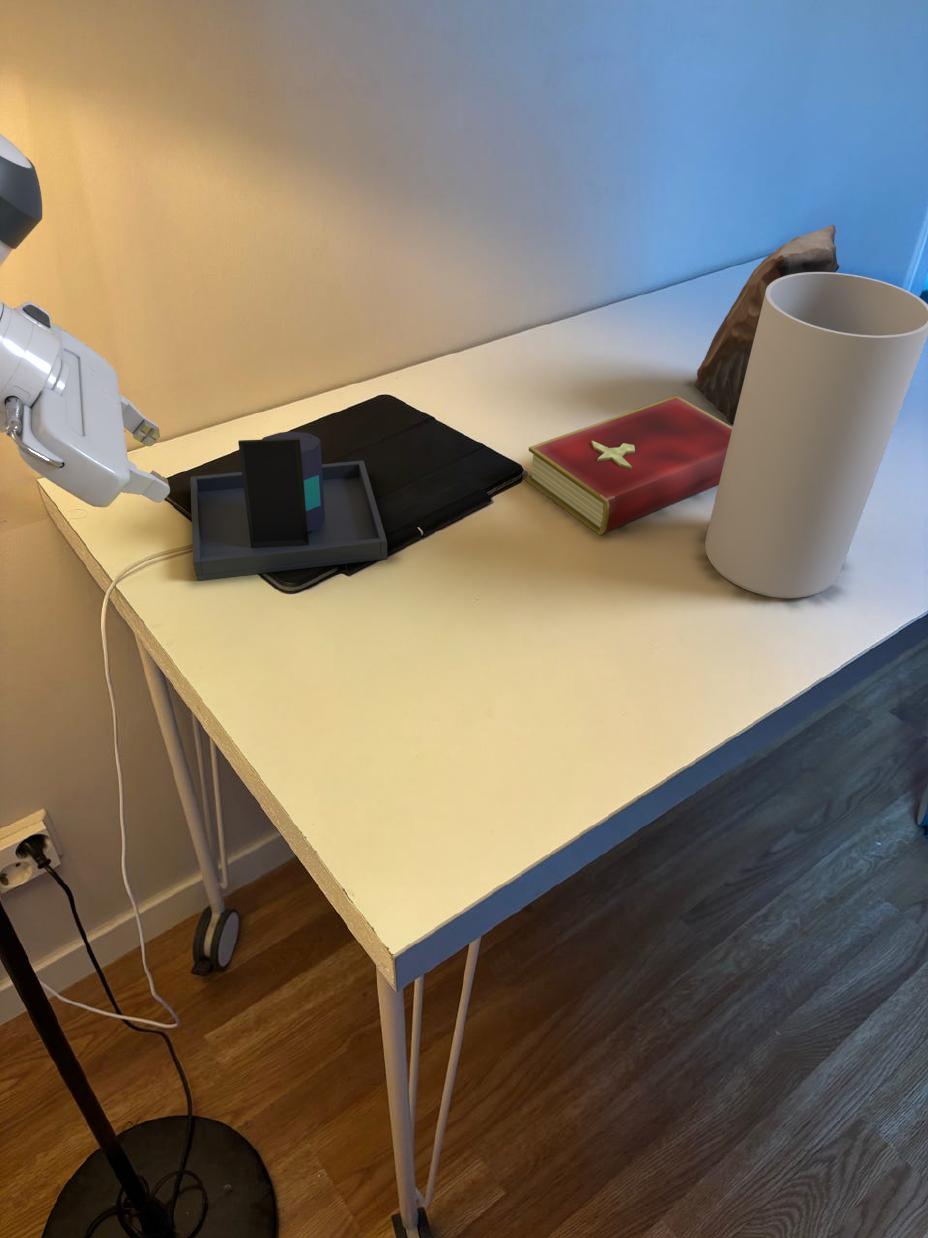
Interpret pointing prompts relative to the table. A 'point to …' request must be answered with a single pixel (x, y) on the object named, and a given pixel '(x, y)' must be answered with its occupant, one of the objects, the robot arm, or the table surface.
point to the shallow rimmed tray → (338, 541)
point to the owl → (757, 316)
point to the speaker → (282, 488)
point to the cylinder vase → (812, 428)
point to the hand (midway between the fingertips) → (160, 464)
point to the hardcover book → (632, 463)
